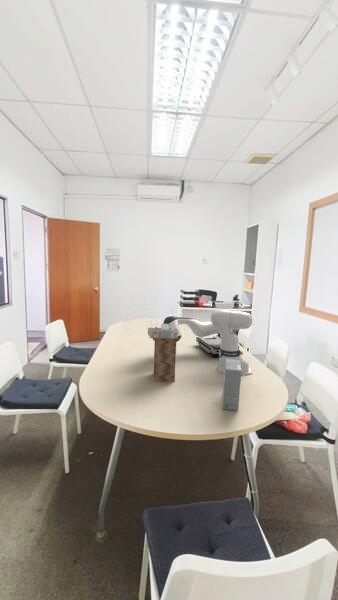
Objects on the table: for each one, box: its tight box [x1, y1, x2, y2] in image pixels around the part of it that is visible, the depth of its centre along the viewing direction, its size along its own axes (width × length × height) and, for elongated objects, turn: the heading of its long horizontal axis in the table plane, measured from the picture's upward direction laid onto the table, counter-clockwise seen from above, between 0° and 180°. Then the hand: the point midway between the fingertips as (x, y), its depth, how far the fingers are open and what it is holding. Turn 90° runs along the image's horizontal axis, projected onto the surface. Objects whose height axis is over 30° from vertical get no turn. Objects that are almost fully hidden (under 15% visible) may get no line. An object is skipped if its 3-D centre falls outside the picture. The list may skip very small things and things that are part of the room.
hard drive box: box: [221, 359, 242, 412], centre depth 139 cm, size 16×8×20 cm, turn 168°
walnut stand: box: [152, 332, 179, 383], centre depth 164 cm, size 14×13×26 cm
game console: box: [195, 335, 240, 358], centre depth 220 cm, size 21×32×8 cm, turn 17°
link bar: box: [160, 323, 172, 338], centre depth 167 cm, size 6×22×4 cm, turn 3°
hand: (163, 328), depth 177 cm, fingers open, 8 cm apart
